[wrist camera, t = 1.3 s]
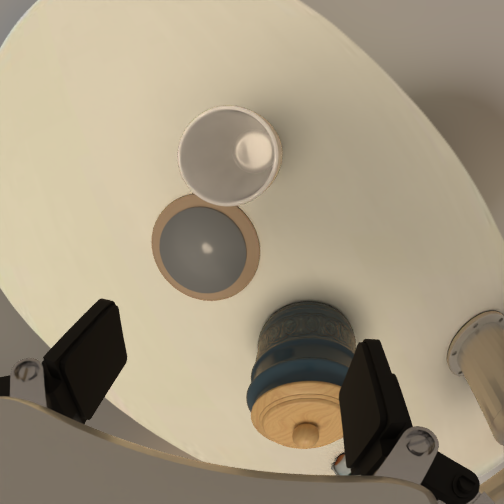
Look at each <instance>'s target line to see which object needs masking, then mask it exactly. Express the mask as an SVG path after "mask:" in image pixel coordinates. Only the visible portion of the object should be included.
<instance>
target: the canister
mask: <svg viewBox="0 0 504 504" xmlns="http://www.w3.org/2000/svg"><path fill="white" fill-rule="evenodd" d="M355 351H356V341H355V336H354V332H353V329H352V327H351V325H350V324H349V322H348V321H347V319H346V318H345V317H344V316H343V315H342V314H341V313H340V312H339V311H338V310H336V309H335V308H333V307H331V306H329V305H326V304H323V303H318V302H299V303H294V304H291V305H288V306H286V307H283V308H282V309H280V310H278V311H277V312H275V313H274V314H273V315H272V316H271V317H270V318H269V319H268V321H267V322H266V324H265V326H264V327H263V329H262V331H261V333H260V336H259V341H258V352H257V357H256V362H255V364H254V366H253V369H252V373H251V384H250V386H249V388H248V391H247V396H246V400H247V405H248V408H249V410H250V412H251V420H252V423H253V425H254V427H255V428H256V429H257V431H258V432H259V433H260V434H262V435H263V436H264V437H266V438H268V439H269V440H272V441H274V442H276V443H278V444H281V445H283V446H287V447H291V448H300V449H308V448H316V447H321V446H325V445H327V444H330V443H332V442H334V441H336V440H339V439H341V438H342V437H343V430H342V421H341V413H340V405H339V391H340V389H341V386H342V384H343V381H344V379H345V376H346V374H347V371H348V369H349V366H350V364H351V361H352V359H353V356H354V353H355Z"/></svg>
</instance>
